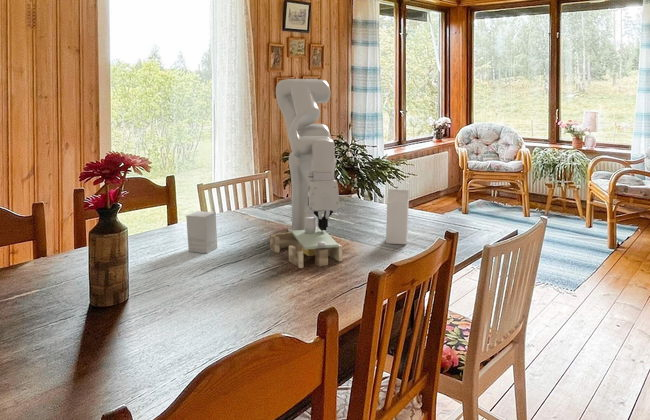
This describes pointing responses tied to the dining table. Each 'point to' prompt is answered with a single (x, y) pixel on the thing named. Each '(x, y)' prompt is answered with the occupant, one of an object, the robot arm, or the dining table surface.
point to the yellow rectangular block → (308, 251)
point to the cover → (314, 236)
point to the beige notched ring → (296, 252)
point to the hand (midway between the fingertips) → (322, 229)
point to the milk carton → (397, 216)
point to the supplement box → (201, 231)
